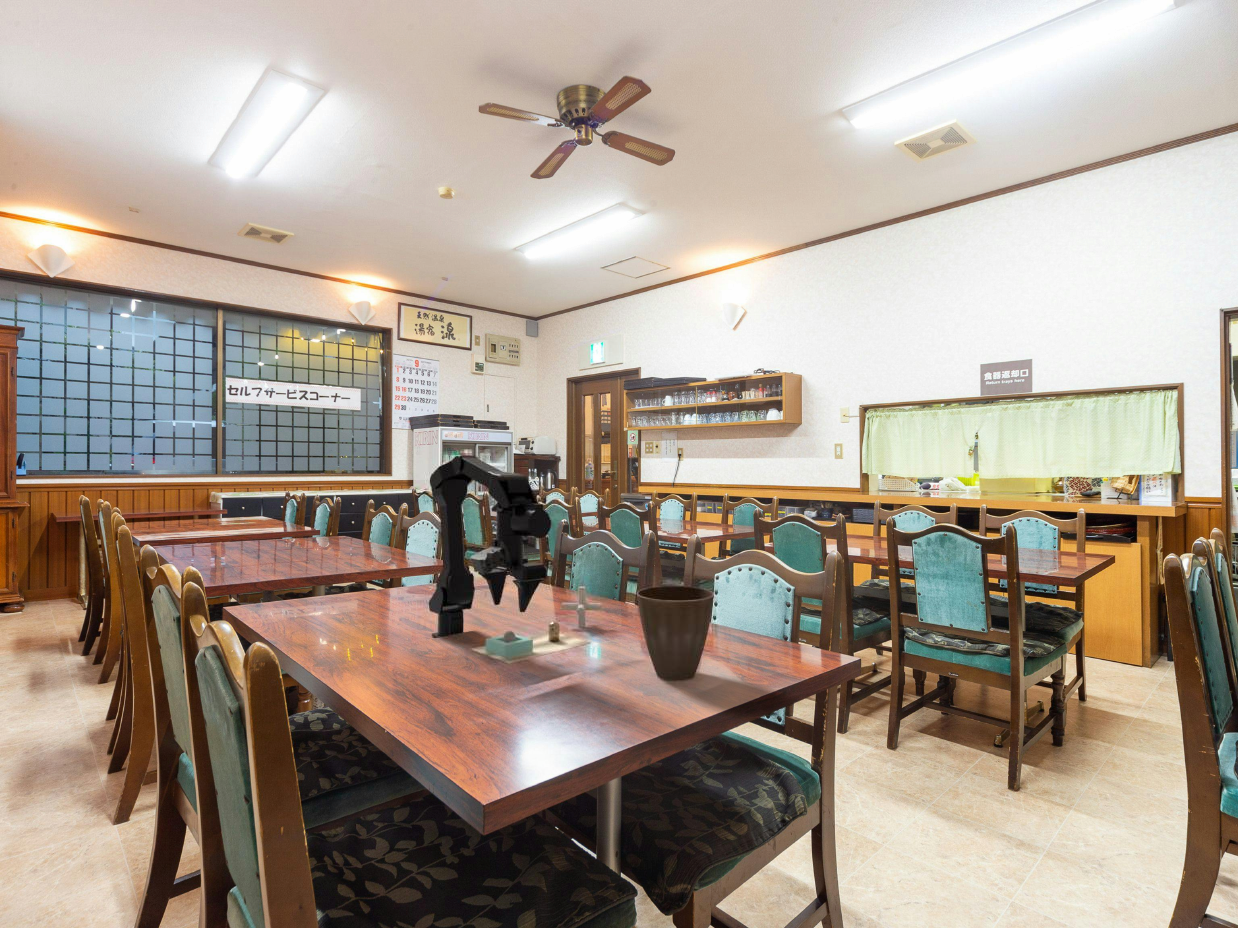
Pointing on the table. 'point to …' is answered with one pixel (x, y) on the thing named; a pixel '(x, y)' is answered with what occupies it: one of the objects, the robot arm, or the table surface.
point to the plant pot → (675, 628)
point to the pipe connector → (581, 606)
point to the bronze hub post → (554, 632)
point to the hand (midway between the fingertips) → (509, 608)
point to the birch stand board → (536, 646)
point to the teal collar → (509, 646)
